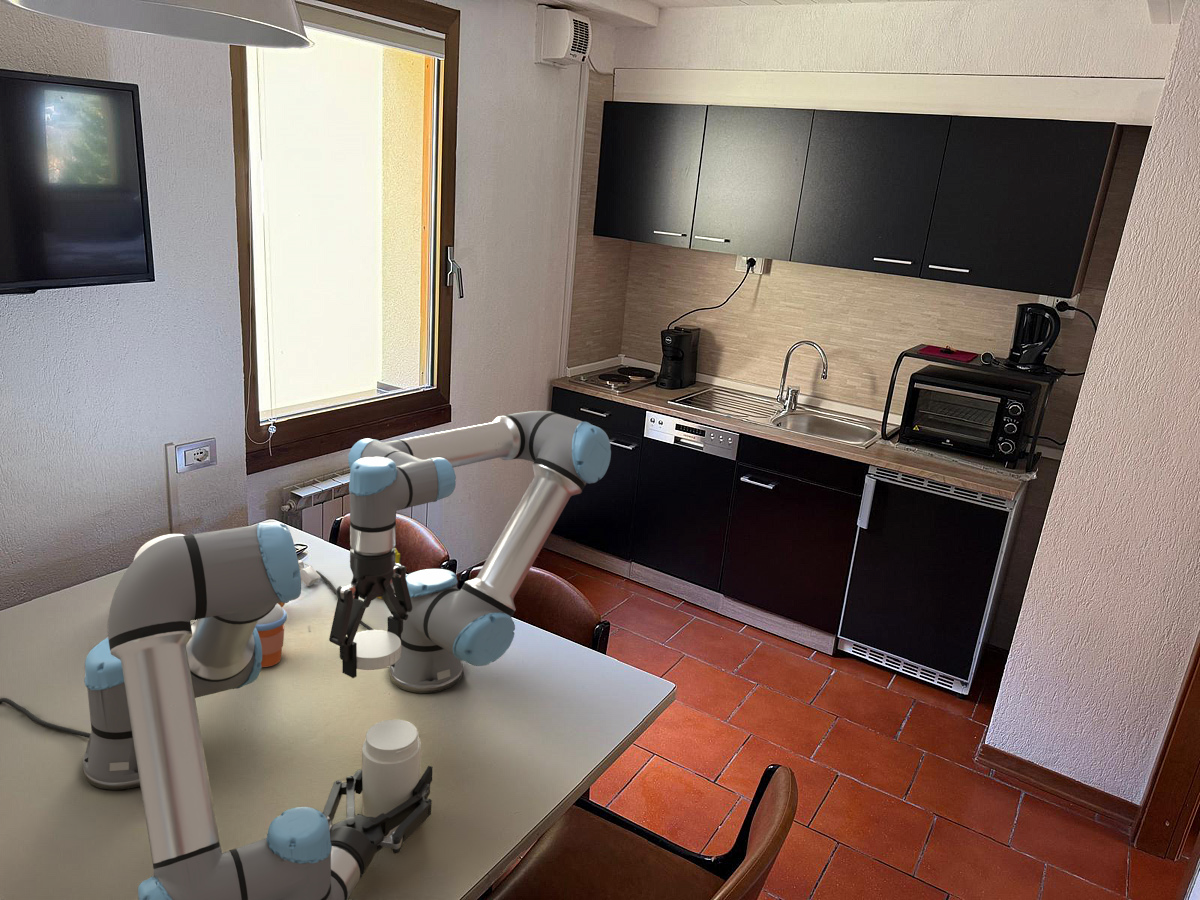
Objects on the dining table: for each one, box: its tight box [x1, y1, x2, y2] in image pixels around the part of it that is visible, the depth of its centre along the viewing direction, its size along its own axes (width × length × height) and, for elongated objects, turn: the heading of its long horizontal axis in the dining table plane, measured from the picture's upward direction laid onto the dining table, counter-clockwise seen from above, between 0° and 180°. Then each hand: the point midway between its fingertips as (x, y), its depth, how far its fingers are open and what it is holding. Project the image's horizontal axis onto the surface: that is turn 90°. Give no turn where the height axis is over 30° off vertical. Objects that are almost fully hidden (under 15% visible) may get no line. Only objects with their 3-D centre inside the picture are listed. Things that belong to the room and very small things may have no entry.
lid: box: [353, 629, 401, 671], centre depth 152 cm, size 10×10×2 cm
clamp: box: [298, 559, 321, 587], centre depth 219 cm, size 20×4×7 cm, turn 62°
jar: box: [361, 718, 422, 837], centre depth 139 cm, size 9×9×16 cm
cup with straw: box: [255, 603, 288, 668], centre depth 180 cm, size 9×9×18 cm
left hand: (402, 767), depth 144 cm, fingers closed on jar, 9 cm apart
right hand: (372, 662), depth 152 cm, fingers closed on lid, 10 cm apart
